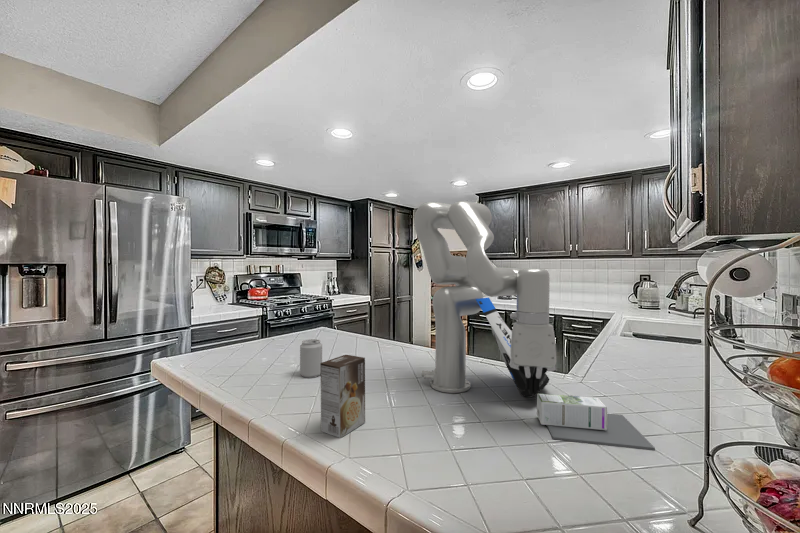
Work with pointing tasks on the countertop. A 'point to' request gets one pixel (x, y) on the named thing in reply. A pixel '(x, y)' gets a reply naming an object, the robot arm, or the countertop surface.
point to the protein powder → (507, 346)
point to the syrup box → (572, 411)
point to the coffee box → (342, 394)
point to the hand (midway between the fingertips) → (532, 392)
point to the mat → (604, 434)
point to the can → (310, 358)
